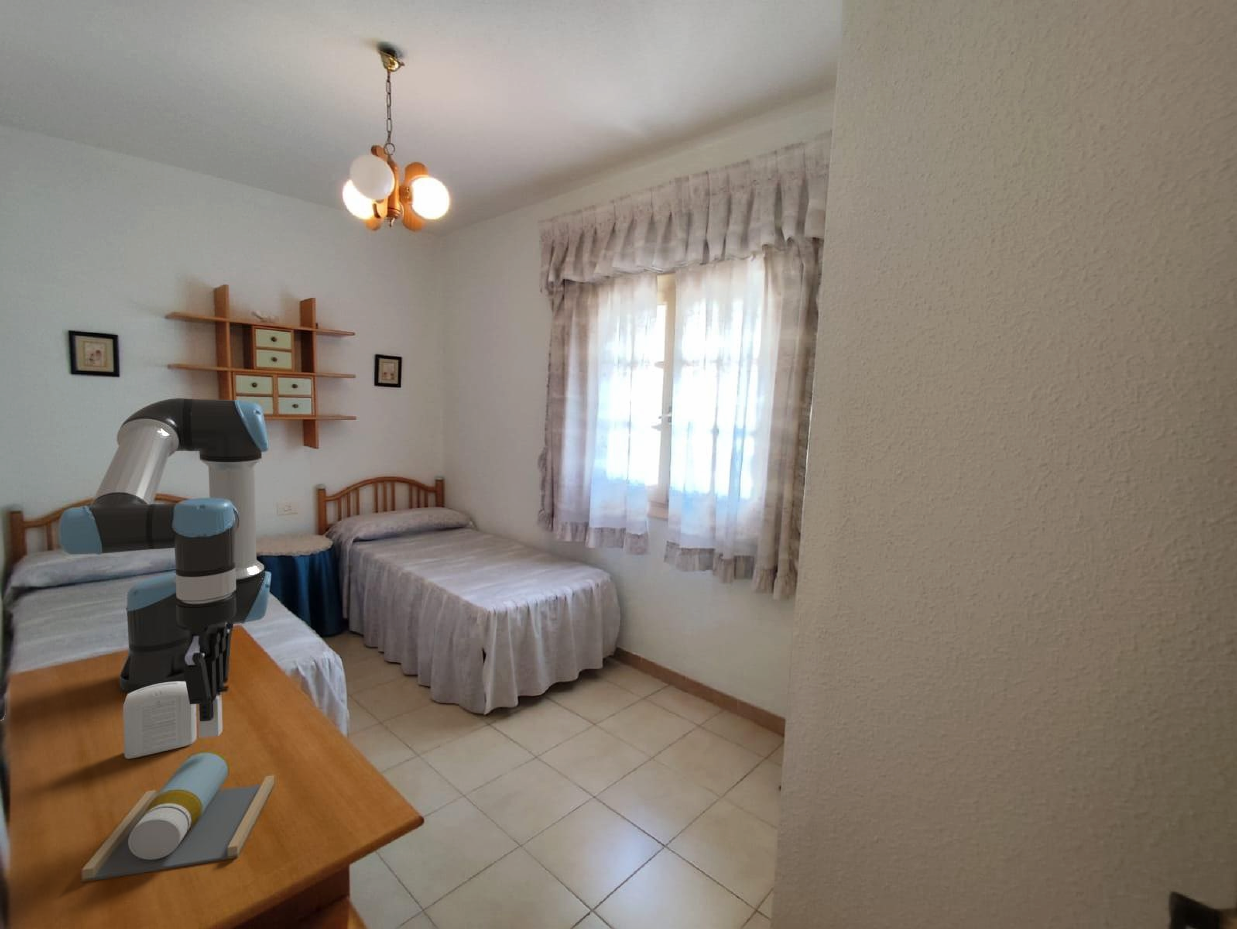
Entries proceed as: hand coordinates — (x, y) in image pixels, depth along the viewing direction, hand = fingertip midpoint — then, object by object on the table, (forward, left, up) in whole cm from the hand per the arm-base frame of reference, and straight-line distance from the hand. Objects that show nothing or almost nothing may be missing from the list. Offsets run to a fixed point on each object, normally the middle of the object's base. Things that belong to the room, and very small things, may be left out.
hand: (210, 734), depth 87 cm
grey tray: (+7, 0, -10) cm, 13 cm away
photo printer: (-15, -14, -11) cm, 23 cm away
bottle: (-1, -1, -7) cm, 7 cm away
